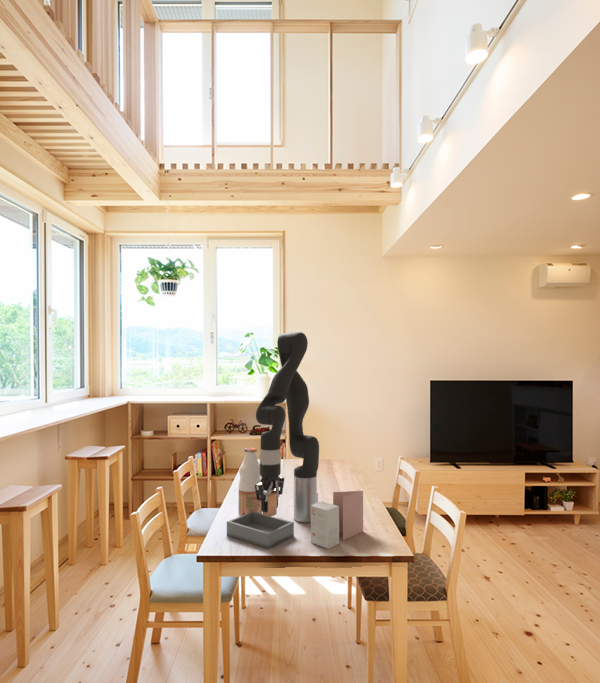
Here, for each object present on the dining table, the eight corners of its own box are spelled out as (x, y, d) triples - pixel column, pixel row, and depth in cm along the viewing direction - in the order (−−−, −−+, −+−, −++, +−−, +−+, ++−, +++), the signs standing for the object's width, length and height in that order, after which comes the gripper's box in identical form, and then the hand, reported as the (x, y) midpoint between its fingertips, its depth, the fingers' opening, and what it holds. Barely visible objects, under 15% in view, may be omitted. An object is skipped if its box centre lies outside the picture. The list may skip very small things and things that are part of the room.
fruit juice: (233, 519, 180) (233, 449, 181) (248, 513, 188) (249, 445, 189) (251, 524, 175) (252, 451, 176) (266, 517, 183) (266, 447, 184)
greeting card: (362, 530, 169) (362, 490, 170) (368, 538, 162) (368, 496, 162) (332, 532, 168) (332, 491, 168) (337, 540, 160) (337, 497, 161)
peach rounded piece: (268, 510, 164) (269, 490, 164) (279, 513, 161) (279, 493, 161) (259, 514, 160) (259, 494, 160) (270, 517, 157) (270, 496, 157)
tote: (252, 524, 175) (252, 511, 176) (293, 536, 164) (293, 522, 164) (226, 535, 164) (226, 521, 164) (268, 549, 152) (268, 534, 153)
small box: (339, 543, 157) (339, 505, 158) (328, 549, 152) (327, 510, 153) (321, 537, 163) (321, 500, 163) (310, 542, 158) (310, 505, 158)
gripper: (274, 456, 169) (274, 502, 168) (248, 463, 157) (248, 513, 157) (290, 459, 165) (290, 506, 164) (264, 466, 153) (264, 517, 152)
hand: (269, 509), depth 160 cm, fingers closed on peach rounded piece, 5 cm apart
